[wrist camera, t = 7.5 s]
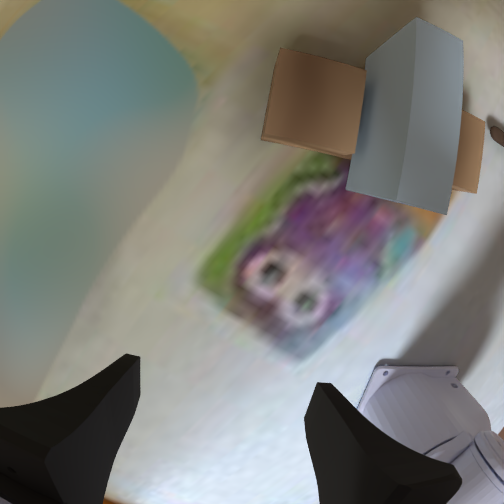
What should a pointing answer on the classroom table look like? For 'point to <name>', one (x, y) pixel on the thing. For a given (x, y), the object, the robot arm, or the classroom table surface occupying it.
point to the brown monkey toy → (497, 135)
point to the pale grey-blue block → (410, 119)
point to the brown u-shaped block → (342, 113)
